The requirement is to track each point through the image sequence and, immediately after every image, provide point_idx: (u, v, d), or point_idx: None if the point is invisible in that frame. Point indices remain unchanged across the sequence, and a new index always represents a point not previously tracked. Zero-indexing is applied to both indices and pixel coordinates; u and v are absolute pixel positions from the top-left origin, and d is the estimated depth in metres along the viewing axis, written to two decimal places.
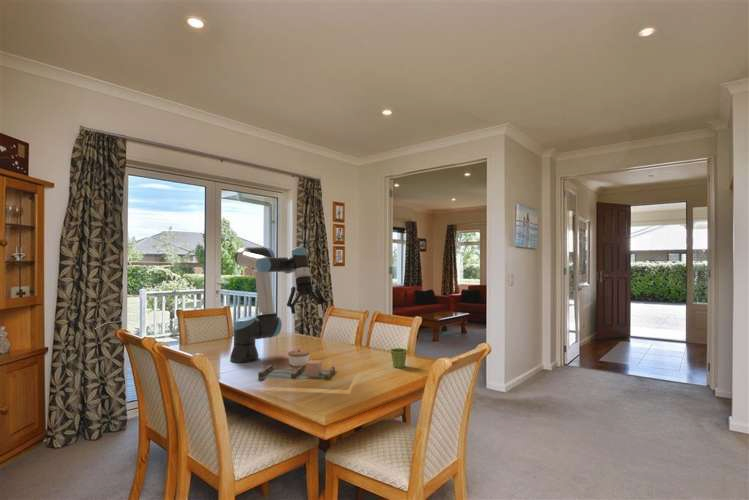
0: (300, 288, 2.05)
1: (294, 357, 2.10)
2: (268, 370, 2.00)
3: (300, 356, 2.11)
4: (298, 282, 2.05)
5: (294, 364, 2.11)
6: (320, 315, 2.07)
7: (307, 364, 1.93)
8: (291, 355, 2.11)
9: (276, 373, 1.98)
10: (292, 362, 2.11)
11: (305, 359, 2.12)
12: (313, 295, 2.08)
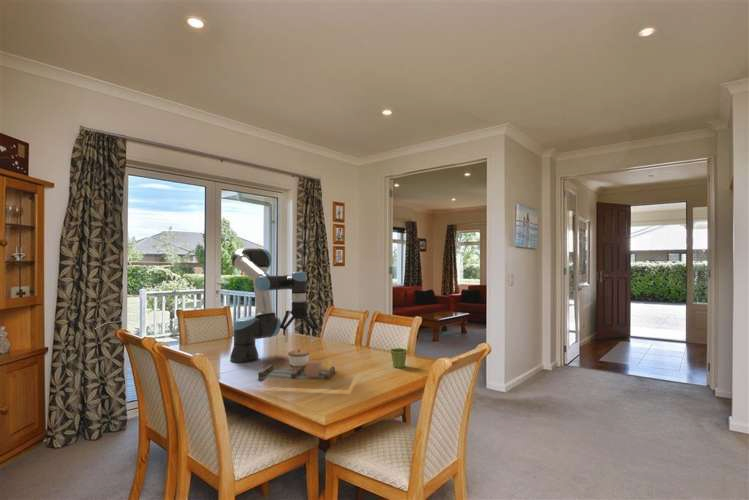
0: (293, 312, 2.15)
1: (294, 357, 2.10)
2: (268, 370, 2.00)
3: (300, 356, 2.11)
4: None
5: (294, 364, 2.11)
6: None
7: (307, 364, 1.93)
8: (291, 355, 2.11)
9: (276, 373, 1.98)
10: (292, 362, 2.11)
11: (305, 359, 2.12)
12: (305, 320, 2.14)
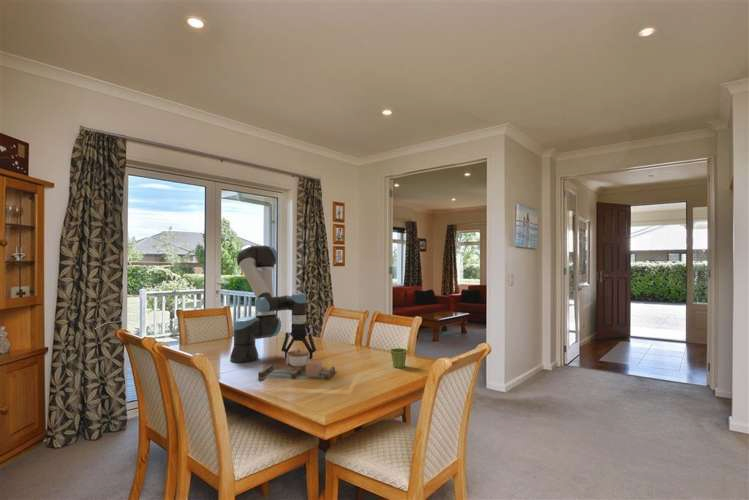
0: (293, 334, 2.15)
1: (294, 357, 2.10)
2: (268, 370, 2.00)
3: (300, 356, 2.11)
4: None
5: (294, 364, 2.11)
6: None
7: (307, 364, 1.93)
8: (291, 355, 2.11)
9: (276, 373, 1.98)
10: (292, 362, 2.11)
11: (305, 359, 2.12)
12: (304, 343, 2.14)
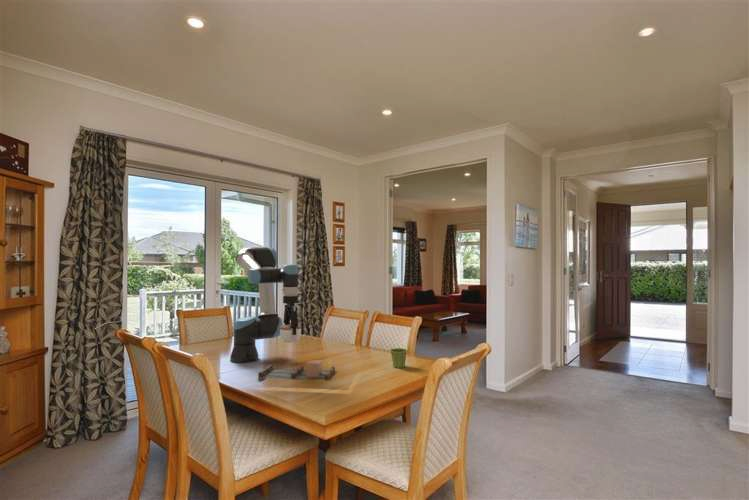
0: (287, 306, 2.08)
1: (280, 329, 2.04)
2: (268, 370, 2.00)
3: (282, 329, 2.02)
4: None
5: (281, 337, 2.05)
6: None
7: (307, 364, 1.93)
8: None
9: (276, 373, 1.98)
10: None
11: (287, 333, 2.01)
12: (289, 316, 2.03)
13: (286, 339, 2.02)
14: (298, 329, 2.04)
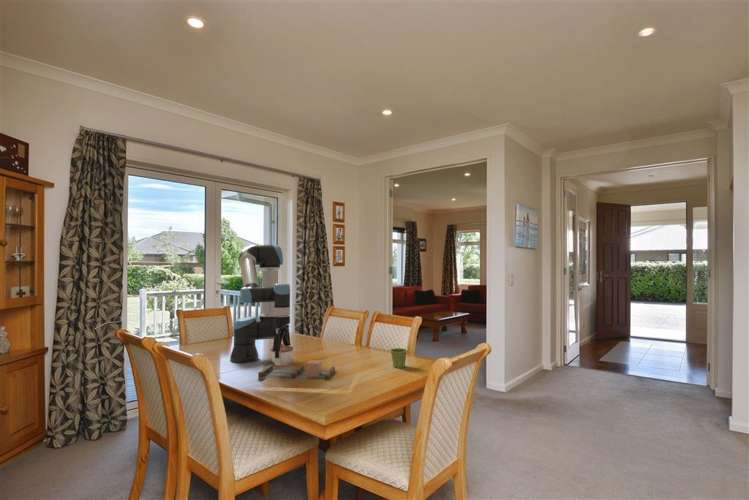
0: None
1: None
2: (268, 370, 2.00)
3: (270, 350, 1.96)
4: None
5: None
6: None
7: (307, 364, 1.93)
8: None
9: (276, 373, 1.98)
10: None
11: (273, 356, 1.94)
12: None
13: (273, 361, 1.95)
14: (284, 352, 1.93)
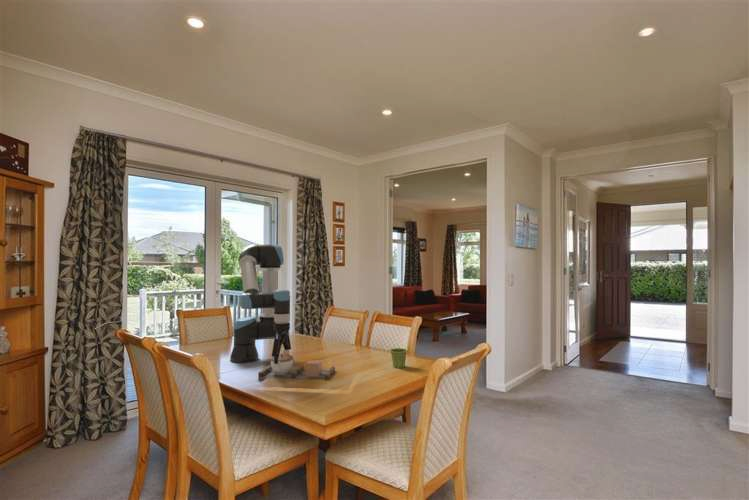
0: None
1: None
2: (268, 370, 2.00)
3: None
4: None
5: None
6: None
7: (307, 364, 1.93)
8: None
9: None
10: None
11: (273, 365, 1.94)
12: None
13: (273, 371, 1.95)
14: (284, 362, 1.93)
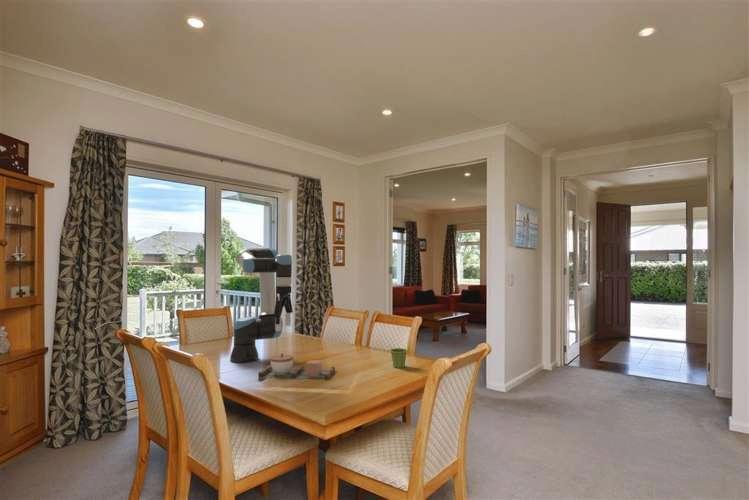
0: None
1: None
2: (268, 370, 2.00)
3: None
4: None
5: None
6: None
7: (307, 364, 1.93)
8: None
9: None
10: None
11: (273, 365, 1.94)
12: None
13: (273, 371, 1.95)
14: (284, 362, 1.93)
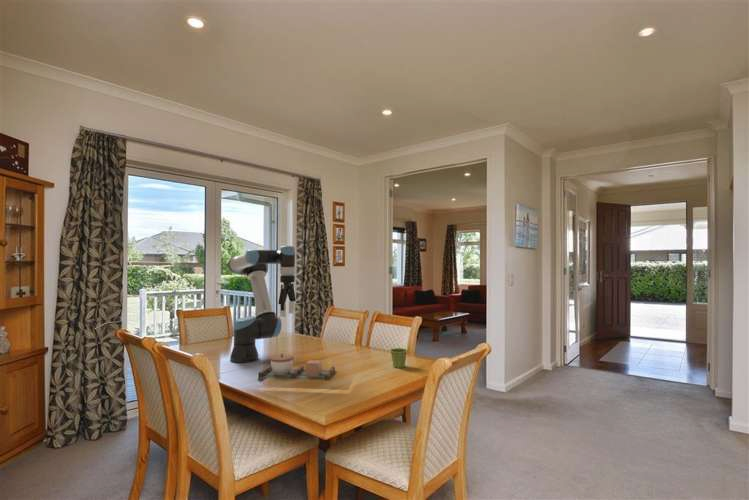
0: None
1: None
2: (268, 370, 2.00)
3: None
4: None
5: None
6: None
7: (307, 364, 1.93)
8: None
9: None
10: None
11: (273, 365, 1.94)
12: None
13: (273, 371, 1.95)
14: (284, 362, 1.93)
